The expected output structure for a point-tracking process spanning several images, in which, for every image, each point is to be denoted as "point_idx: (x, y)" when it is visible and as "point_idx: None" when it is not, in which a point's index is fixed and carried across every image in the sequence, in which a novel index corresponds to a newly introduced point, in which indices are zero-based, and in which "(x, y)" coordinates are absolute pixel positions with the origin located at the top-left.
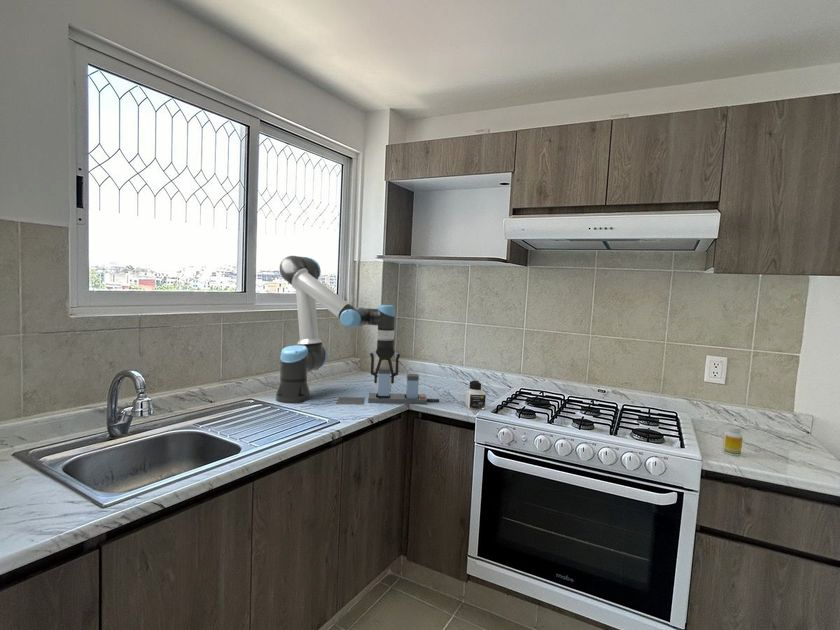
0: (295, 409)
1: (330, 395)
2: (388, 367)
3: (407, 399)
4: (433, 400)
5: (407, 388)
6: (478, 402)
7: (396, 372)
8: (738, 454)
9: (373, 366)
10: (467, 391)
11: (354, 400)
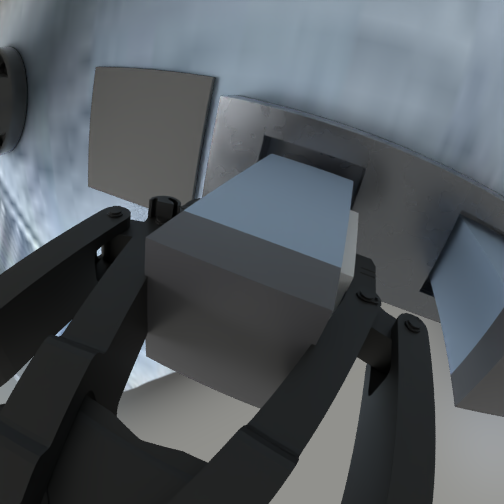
0: (23, 217)
1: (76, 31)
2: (298, 309)
3: (418, 314)
4: None
5: (444, 328)
6: None
7: (374, 385)
8: None
9: (74, 314)
10: None
11: (153, 136)
